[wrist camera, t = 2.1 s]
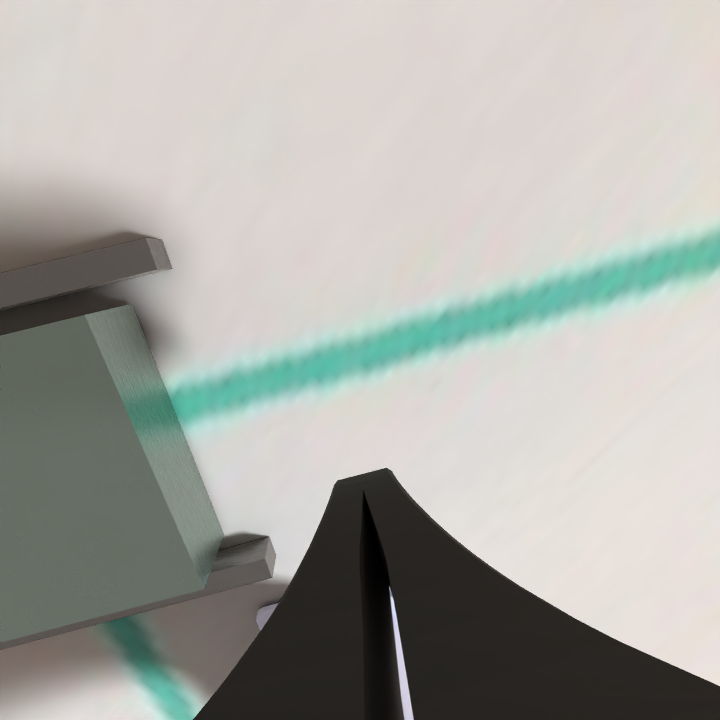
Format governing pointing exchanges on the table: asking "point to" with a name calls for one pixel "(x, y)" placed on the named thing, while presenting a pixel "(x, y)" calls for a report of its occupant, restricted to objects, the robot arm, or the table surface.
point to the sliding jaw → (93, 478)
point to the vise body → (96, 271)
